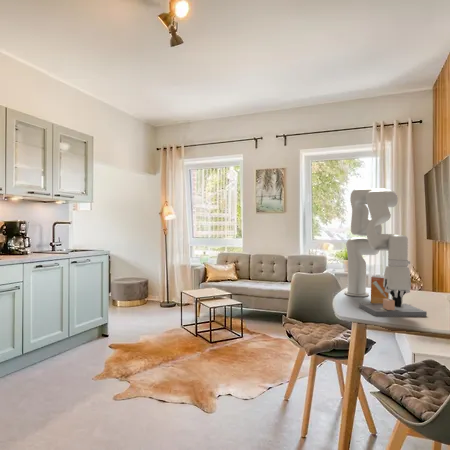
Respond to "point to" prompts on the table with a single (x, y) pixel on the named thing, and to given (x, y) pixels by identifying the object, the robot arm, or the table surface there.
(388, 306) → the block
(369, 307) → the plate
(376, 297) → the small box
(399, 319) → the table surface
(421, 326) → the table surface
